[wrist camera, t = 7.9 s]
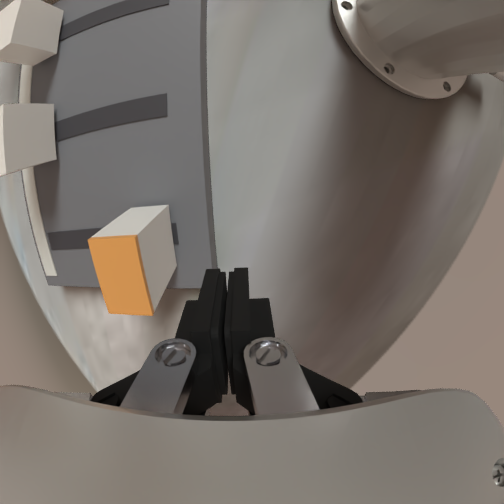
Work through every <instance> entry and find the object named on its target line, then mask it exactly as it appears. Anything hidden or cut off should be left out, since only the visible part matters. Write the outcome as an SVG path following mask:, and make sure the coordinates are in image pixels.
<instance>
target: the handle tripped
mask: <svg viewBox="0 0 504 504" xmlns="http://www.w3.org/2000/svg"><path fill="white" fill-rule="evenodd" d="M88 244H89V248H90V252H91V256H92V260H93V263H94V267H95V271H96V274H97V277H98V281H99V284H100V287H101V291H102V294H103V297H104V300H105V303H106V306H107V309H108V312H109V313H111V314H127V315H148V316H153V314H154V312H155V310H156V308H157V305H158V303H159V301H160V299H161V297H162V295H163V293H164V291H165V289H166V287H167V285H168V283H169V280H170V278H171V276H172V274H173V272H174V270H175V268H176V266H177V263H176V257H175V250H174V243H173V236H172V229H171V221H170V213H169V205H158V206H146V207H135V208H130V209H129V210H127V211H126V212H124V213H123V214H122V215H120V216H119V217H117V218H116V219H115V220H113V221H112V222H111V223H109V224H108V225H106V226H105V227H104V228H102V229H101V230H100V231H98V232H97V233H96V234H95V235H93V236H92V237H91V238H89V239H88Z"/></svg>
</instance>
